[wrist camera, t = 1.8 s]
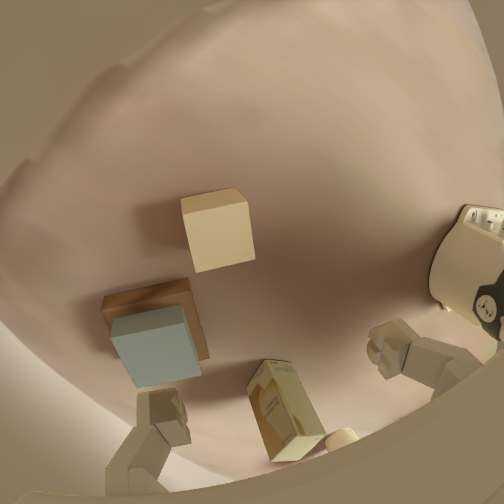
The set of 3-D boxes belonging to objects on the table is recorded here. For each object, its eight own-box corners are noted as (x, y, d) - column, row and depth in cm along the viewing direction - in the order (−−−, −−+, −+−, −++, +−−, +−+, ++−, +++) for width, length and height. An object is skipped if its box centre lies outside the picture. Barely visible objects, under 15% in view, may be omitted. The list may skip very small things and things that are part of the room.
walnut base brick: (187, 275, 30) (189, 290, 28) (206, 341, 34) (209, 358, 32) (105, 293, 29) (100, 310, 26) (133, 356, 33) (132, 373, 30)
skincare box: (263, 357, 37) (297, 434, 26) (292, 361, 39) (329, 432, 28) (243, 390, 39) (269, 464, 28) (271, 392, 40) (300, 461, 30)
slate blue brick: (181, 303, 28) (183, 322, 25) (198, 355, 31) (201, 375, 28) (113, 318, 27) (109, 337, 24) (137, 368, 30) (136, 388, 27)
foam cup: (365, 421, 54) (394, 466, 42) (342, 445, 57) (366, 488, 45) (333, 425, 50) (361, 476, 39) (309, 450, 53) (332, 498, 42)
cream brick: (234, 187, 27) (247, 201, 23) (242, 237, 30) (255, 259, 25) (180, 198, 27) (182, 214, 22) (191, 248, 29) (195, 273, 24)
